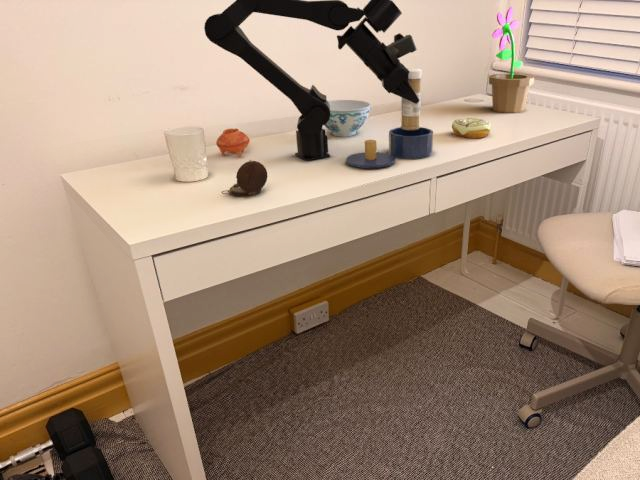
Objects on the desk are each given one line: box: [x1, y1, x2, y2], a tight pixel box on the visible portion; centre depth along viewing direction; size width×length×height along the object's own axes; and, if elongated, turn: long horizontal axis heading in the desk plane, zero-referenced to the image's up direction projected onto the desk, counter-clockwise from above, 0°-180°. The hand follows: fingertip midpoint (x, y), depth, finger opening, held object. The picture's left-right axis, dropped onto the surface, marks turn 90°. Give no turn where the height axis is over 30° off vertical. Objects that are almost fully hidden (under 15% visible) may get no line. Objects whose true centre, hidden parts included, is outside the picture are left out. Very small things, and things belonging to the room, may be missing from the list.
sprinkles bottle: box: [400, 67, 423, 130], centre depth 129 cm, size 5×5×14 cm
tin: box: [388, 126, 434, 160], centre depth 134 cm, size 10×10×5 cm
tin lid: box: [345, 139, 396, 169], centre depth 127 cm, size 11×11×5 cm
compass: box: [221, 159, 268, 197], centre depth 108 cm, size 8×8×7 cm
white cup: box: [163, 125, 209, 183], centre depth 117 cm, size 8×8×10 cm
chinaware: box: [323, 99, 371, 137], centre depth 152 cm, size 15×15×8 cm
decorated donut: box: [451, 117, 492, 139], centre depth 151 cm, size 10×11×4 cm
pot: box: [215, 127, 251, 158], centre depth 134 cm, size 8×8×7 cm
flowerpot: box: [488, 6, 535, 114], centre depth 175 cm, size 14×14×30 cm
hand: (416, 100), depth 130 cm, fingers closed on sprinkles bottle, 4 cm apart
